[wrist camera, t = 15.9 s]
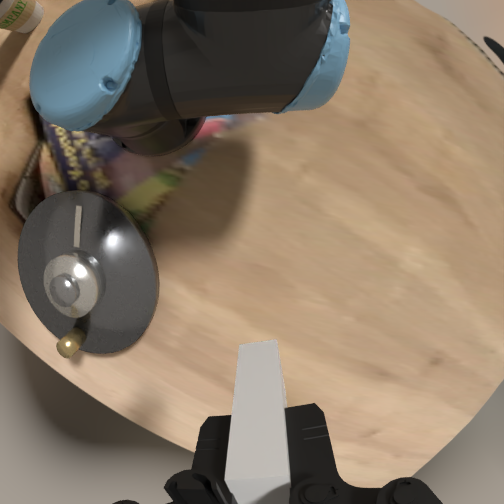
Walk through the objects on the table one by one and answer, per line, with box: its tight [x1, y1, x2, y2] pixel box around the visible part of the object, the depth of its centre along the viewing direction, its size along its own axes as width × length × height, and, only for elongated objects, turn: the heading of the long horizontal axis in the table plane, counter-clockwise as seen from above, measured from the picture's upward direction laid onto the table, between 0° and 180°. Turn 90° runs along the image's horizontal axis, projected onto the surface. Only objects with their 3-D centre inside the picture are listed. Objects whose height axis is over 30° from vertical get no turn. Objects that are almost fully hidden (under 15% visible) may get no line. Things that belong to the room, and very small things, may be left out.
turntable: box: [18, 190, 159, 358], centre depth 40 cm, size 26×26×7 cm
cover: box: [44, 250, 106, 318], centre depth 39 cm, size 9×9×6 cm
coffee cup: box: [0, 0, 44, 33], centre depth 26 cm, size 10×10×15 cm
